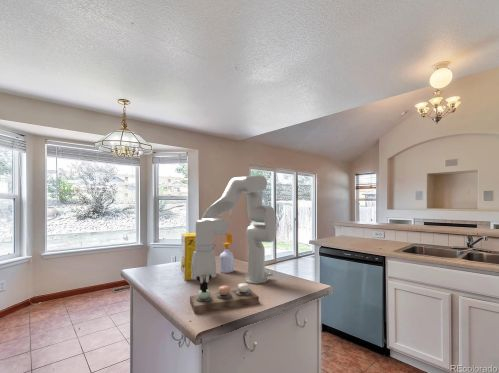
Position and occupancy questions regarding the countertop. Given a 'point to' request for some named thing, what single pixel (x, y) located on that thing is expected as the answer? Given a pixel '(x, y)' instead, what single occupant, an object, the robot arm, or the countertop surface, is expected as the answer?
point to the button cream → (243, 287)
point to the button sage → (203, 294)
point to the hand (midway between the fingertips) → (203, 291)
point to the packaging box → (187, 254)
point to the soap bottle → (227, 257)
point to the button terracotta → (224, 290)
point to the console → (223, 301)
